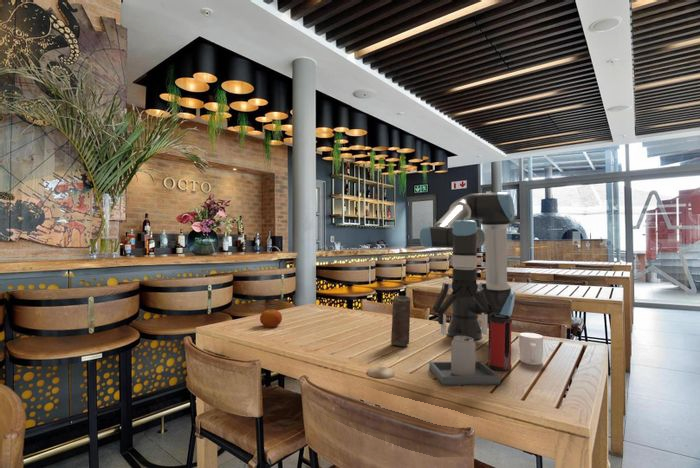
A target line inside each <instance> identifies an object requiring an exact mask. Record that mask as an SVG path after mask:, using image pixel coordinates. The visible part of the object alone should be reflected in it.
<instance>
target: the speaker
mask: <svg viewBox="0 0 700 468" xmlns="http://www.w3.org/2000/svg"><path fill="white" fill-rule="evenodd" d="M512 323H513V318H511V316H510V317H509V316H507V315H502V314H492V315H490V323H489V324H488V345H487V346H488V348H487V349H488V351H487V352H488V353H487V363H486V364H487V365H486V366H488V367H489V368H490V369H491V370H493V371H494V370H495V371H498V372H509V371H510V370H512V364H511V363H512Z"/></svg>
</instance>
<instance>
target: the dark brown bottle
mask: <svg viewBox="0 0 700 468" xmlns="http://www.w3.org/2000/svg"><path fill="white" fill-rule="evenodd" d="M411 301H412V300H411V298H410V296H407V295H397V296H394V297H393V298H392V313H391V314H392V318H391V319H392V320H391V337H390V344H391V345H393V346H396V347H405V346H407V345H409V344H410V326H411V325H410V322H411V320H410V319H411Z"/></svg>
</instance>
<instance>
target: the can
mask: <svg viewBox="0 0 700 468" xmlns="http://www.w3.org/2000/svg"><path fill="white" fill-rule="evenodd" d="M450 345H451V347H450V349H451V350H450V351H451V354H450V357H451V358H450V362H451V372H452V373H453V374H454V375H455V376H474V375H475V361H476V346H477V345H476V342H475V341H474V339H473V338H471V337H468V336H455V337H453V339H452V340H451V343H450Z"/></svg>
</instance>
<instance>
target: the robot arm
mask: <svg viewBox="0 0 700 468" xmlns="http://www.w3.org/2000/svg"><path fill="white" fill-rule="evenodd" d="M513 220H515V205H514V201H513V197H512V196H511V194H510V193H509V192H500V191H498V192H497V191H496V192H482V193H470V194H467V195H464V196H462V197H459V198H458V199H456V200H455V201H454V202H452V204H450V205H449V209H448V210H447V212H446V213H445V214H444V215H443V216H442V217H441V218H440V219H439V220H438V221H437V222H436V223H434V224H433V226H424V227H422V228H421V229H420V232H419V241H420V244H421V246H422V247H424V248H430V249H432V248H434V249H435V248H437V249H439V248H440V249H452V267H453V269H452V274H451V277H452V282H451V283H446V282H443V283H442V286H441V290H440V293H439V294H438V297H437V299H436V301H435V302H434V304H433V306H432V309H431V310H432V312H434V313H435V314H437V322H438V324H439V325H440V334H441V335H443V336H446V335H447V336H449V337H451V338H454V337H455V336H468V337H471V338H473V339H474V340H481V339H482V337H483V335H484V336H485V335H486V336H487V335H488V325H489V323H490V315H492V314H502V315H507V316H509V317H510V318H511V316H512V314H513V310H514V305H515V300H516V291H514V290H512V286H511V285H510V284H509V282H508V255H507V254H508V248H507V247H508V243H507V242H508V241H507V239H508V238H507V237H508V236H507V232H508V230H507V229H508V227H509V226H510V225H511V221H513ZM477 221H480V222H481V226H482V227H484V229H485V231H484V229H482V228H481V227H478V222H477ZM484 244H485V282H479V283H478V282H477V279H478V277H477V275H478V273H477V269H476V268H477V267H478V257H477V256H478V252H477V251H478V249H479V248H481V247H482V246H483V245H484ZM450 289H451V290H452V291H451V293H450V295H449V296H448V298H447V299H446V300H445V298H446V296H447V294H448V292H449V291H450ZM444 300H445V301H444ZM450 306H451V318H450V321H449V323H448V327H447V315H446V314H445V313H446V311H447V310H448V309H449V308H450ZM479 315H480V316H481V323H480V322H479ZM480 324H481V325H480ZM474 340H473V341H474Z"/></svg>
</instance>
